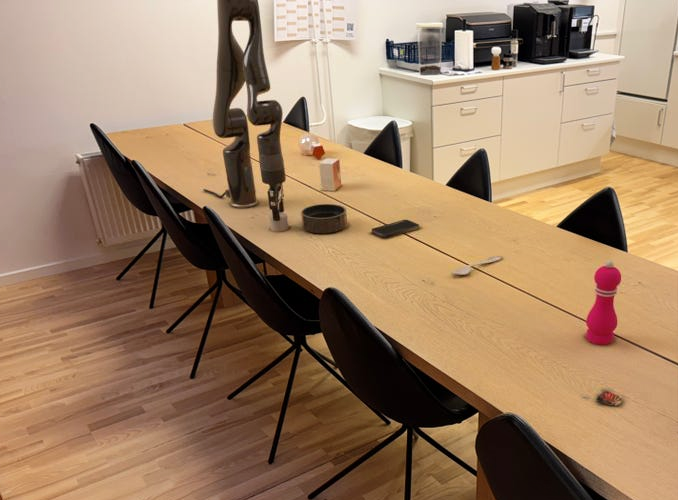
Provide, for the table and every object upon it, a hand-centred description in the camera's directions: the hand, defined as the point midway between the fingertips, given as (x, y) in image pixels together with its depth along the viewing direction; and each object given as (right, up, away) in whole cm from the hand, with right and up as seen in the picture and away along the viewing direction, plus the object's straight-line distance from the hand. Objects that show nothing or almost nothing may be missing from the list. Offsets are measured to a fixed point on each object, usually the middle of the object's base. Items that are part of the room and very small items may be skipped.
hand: (278, 216), depth 225 cm
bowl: (+15, -3, +4) cm, 15 cm away
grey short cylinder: (0, -4, +2) cm, 4 cm away
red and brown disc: (+89, -56, -84) cm, 135 cm away
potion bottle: (-5, +45, +83) cm, 95 cm away
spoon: (+64, -21, -25) cm, 72 cm away
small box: (+10, +20, +42) cm, 47 cm away
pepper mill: (+92, -43, -62) cm, 119 cm away
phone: (+39, -5, +1) cm, 39 cm away
